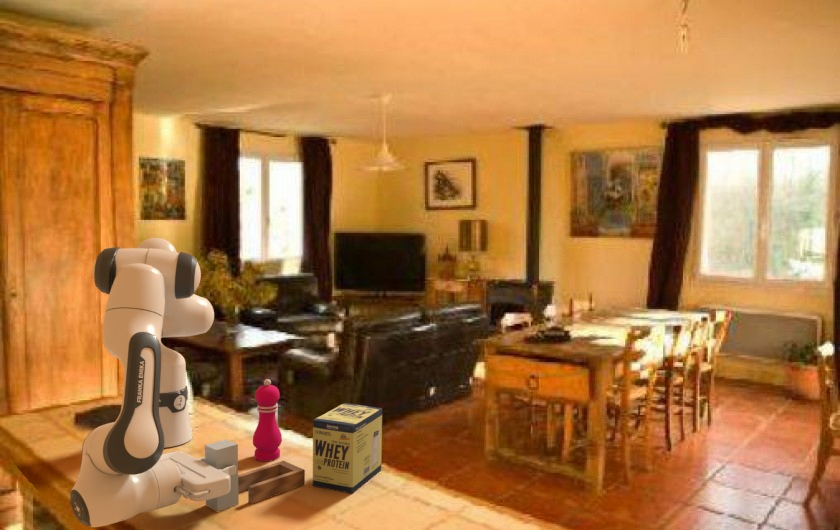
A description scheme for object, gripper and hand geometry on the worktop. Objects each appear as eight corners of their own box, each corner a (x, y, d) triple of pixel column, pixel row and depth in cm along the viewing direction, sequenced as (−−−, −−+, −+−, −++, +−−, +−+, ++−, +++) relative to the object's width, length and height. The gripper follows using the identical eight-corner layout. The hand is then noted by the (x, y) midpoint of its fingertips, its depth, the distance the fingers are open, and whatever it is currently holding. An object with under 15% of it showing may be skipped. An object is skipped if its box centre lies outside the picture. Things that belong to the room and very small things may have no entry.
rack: (251, 503, 140) (251, 487, 140) (230, 492, 145) (230, 477, 145) (304, 484, 150) (304, 469, 150) (283, 475, 155) (283, 460, 155)
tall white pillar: (217, 512, 136) (216, 450, 135) (205, 505, 139) (204, 445, 138) (238, 504, 140) (237, 444, 139) (226, 498, 143) (225, 439, 142)
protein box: (311, 486, 149) (311, 419, 148) (344, 463, 164) (344, 401, 163) (352, 494, 145) (353, 425, 144) (382, 470, 160) (383, 407, 159)
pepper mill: (274, 463, 163) (274, 383, 161) (247, 460, 164) (247, 381, 163) (286, 453, 170) (286, 376, 168) (260, 450, 171) (260, 374, 170)
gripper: (189, 482, 122) (254, 463, 132) (139, 454, 135) (201, 438, 146) (190, 515, 122) (254, 493, 132) (139, 484, 136) (201, 466, 146)
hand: (226, 464), depth 139 cm, fingers open, 5 cm apart
